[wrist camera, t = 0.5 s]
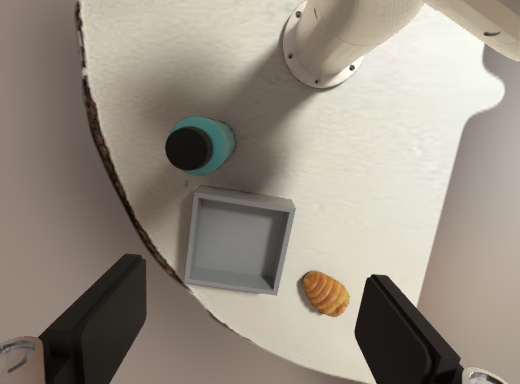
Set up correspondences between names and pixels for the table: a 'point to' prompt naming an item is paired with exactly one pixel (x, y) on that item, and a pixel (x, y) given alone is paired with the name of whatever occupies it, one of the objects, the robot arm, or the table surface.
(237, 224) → the bin
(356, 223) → the table surface
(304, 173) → the table surface
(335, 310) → the pastry
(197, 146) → the beverage bottle
